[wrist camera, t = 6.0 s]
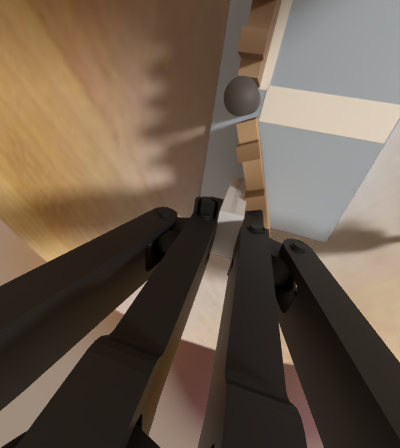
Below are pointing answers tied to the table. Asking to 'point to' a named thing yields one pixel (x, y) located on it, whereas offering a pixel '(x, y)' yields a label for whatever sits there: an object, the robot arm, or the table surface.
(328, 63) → the card
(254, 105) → the fence fixed
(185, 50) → the table surface
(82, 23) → the table surface
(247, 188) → the notched wooden bar
